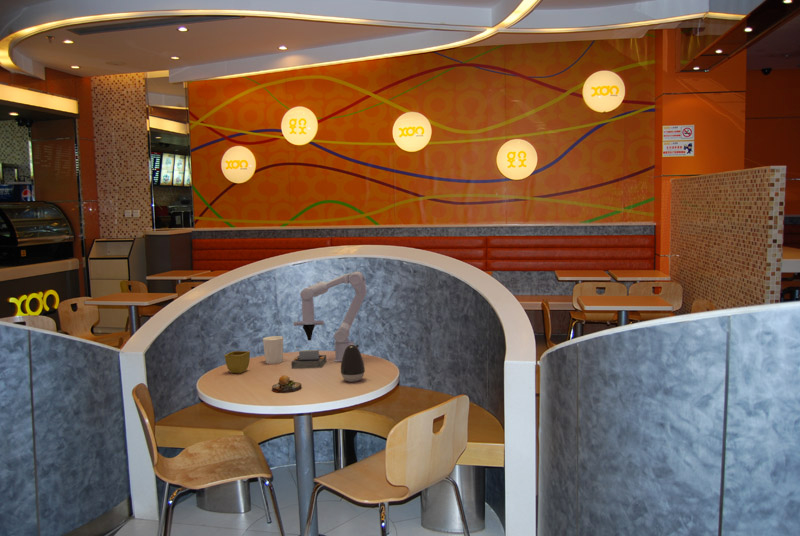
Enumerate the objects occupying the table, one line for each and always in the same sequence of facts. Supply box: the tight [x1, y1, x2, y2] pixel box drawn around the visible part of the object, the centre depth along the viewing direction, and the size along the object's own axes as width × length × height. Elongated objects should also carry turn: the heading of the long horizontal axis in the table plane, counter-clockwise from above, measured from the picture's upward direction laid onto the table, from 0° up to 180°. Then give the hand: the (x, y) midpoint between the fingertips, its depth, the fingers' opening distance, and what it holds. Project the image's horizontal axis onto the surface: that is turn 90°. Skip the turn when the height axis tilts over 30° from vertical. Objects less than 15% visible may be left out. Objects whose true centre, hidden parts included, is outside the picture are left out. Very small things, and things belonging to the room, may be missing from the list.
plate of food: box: [271, 374, 303, 394], centre depth 251 cm, size 12×12×8 cm
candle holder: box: [262, 335, 284, 365], centre depth 302 cm, size 10×10×12 cm
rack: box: [290, 354, 327, 369], centre depth 294 cm, size 14×14×3 cm
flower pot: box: [223, 350, 251, 374], centre depth 284 cm, size 9×9×9 cm
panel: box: [298, 349, 320, 359], centre depth 293 cm, size 9×2×6 cm, turn 88°
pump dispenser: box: [340, 344, 366, 383], centre depth 260 cm, size 10×10×15 cm
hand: (309, 340), depth 301 cm, fingers closed
